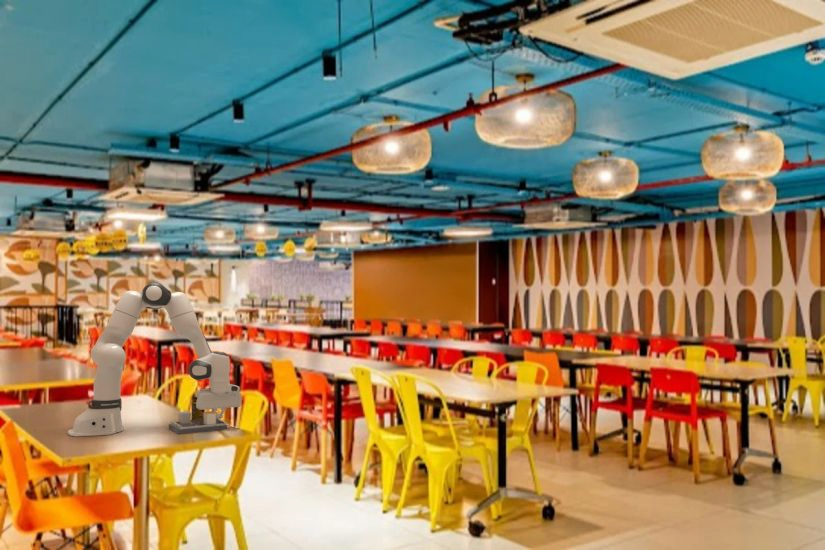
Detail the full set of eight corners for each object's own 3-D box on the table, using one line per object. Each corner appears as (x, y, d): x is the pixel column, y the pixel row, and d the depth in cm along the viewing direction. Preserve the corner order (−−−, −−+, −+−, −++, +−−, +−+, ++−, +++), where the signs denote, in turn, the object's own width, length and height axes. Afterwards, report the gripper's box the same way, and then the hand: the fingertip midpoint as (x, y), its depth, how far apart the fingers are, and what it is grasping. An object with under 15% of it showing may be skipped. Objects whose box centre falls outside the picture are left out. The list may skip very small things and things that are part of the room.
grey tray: (178, 434, 320) (178, 426, 320) (168, 428, 332) (168, 420, 333) (227, 429, 332) (227, 421, 332) (216, 424, 345) (216, 416, 345)
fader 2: (206, 425, 328) (207, 413, 328) (203, 423, 332) (203, 411, 332) (215, 424, 331) (215, 412, 331) (212, 423, 335) (212, 411, 335)
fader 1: (181, 424, 330) (181, 413, 330) (178, 422, 334) (178, 411, 334) (190, 423, 332) (190, 412, 332) (187, 422, 336) (187, 411, 336)
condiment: (207, 421, 350) (207, 396, 350) (189, 423, 346) (189, 397, 346) (202, 419, 356) (202, 394, 356) (184, 421, 352) (185, 395, 352)
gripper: (198, 389, 326) (198, 421, 325) (243, 387, 337) (242, 417, 337) (194, 388, 331) (193, 419, 331) (238, 385, 342) (237, 415, 342)
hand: (218, 418), depth 334 cm, fingers closed
